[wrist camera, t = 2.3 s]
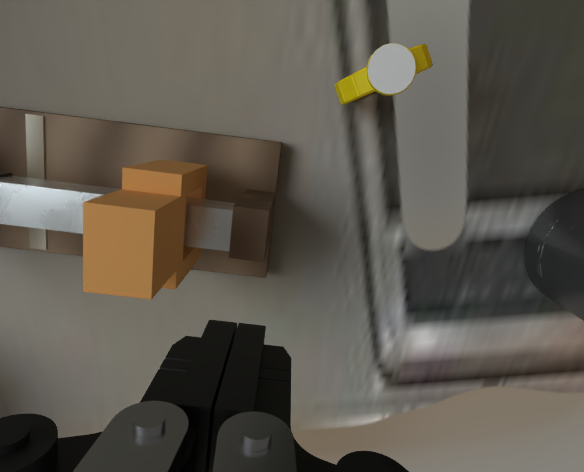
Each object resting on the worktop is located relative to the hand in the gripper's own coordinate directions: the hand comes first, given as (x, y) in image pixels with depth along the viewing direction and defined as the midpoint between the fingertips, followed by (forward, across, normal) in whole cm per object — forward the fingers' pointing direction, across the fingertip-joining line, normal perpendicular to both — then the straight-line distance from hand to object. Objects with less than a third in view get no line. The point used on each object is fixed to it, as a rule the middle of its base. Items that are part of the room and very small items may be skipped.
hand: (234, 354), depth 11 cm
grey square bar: (+16, +12, 0) cm, 20 cm away
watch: (+21, -6, -10) cm, 24 cm away
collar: (+17, +6, 0) cm, 18 cm away
